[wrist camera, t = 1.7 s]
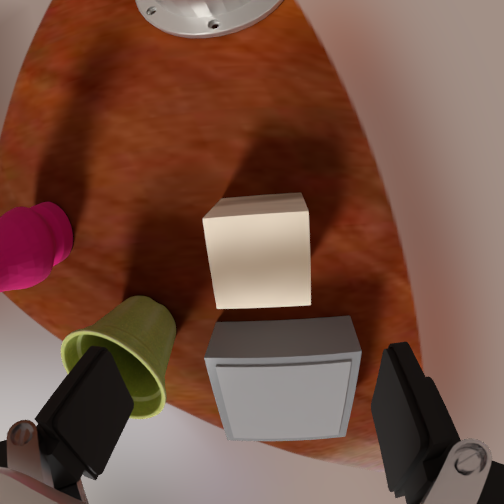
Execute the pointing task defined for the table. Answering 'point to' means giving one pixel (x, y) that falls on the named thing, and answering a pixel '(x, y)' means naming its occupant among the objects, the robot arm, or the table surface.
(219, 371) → the slate stand
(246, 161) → the table surface
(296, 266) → the birch block
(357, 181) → the table surface
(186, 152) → the table surface
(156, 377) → the plant pot
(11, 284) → the pepper mill
